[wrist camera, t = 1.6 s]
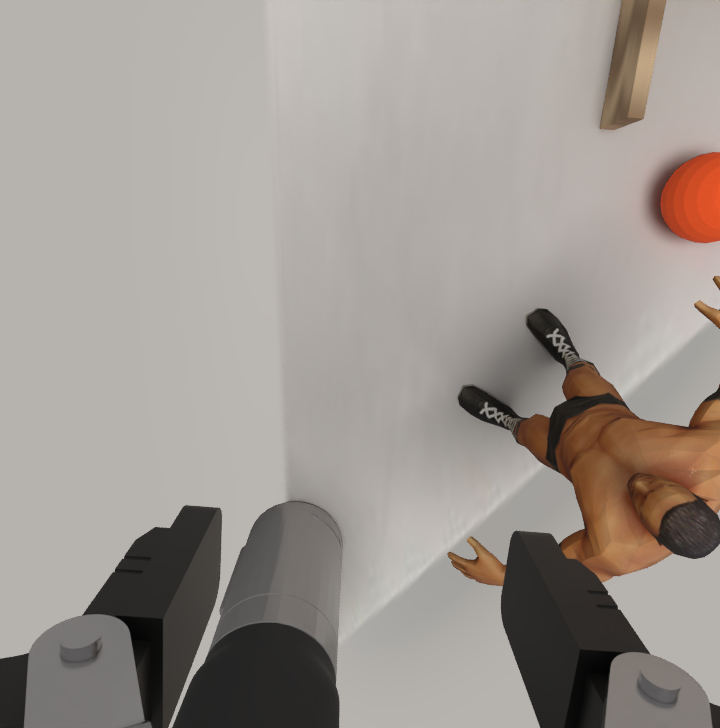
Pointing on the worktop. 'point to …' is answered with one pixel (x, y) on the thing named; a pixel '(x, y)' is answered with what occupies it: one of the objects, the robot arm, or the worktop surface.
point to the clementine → (694, 199)
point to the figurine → (614, 467)
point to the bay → (632, 62)
